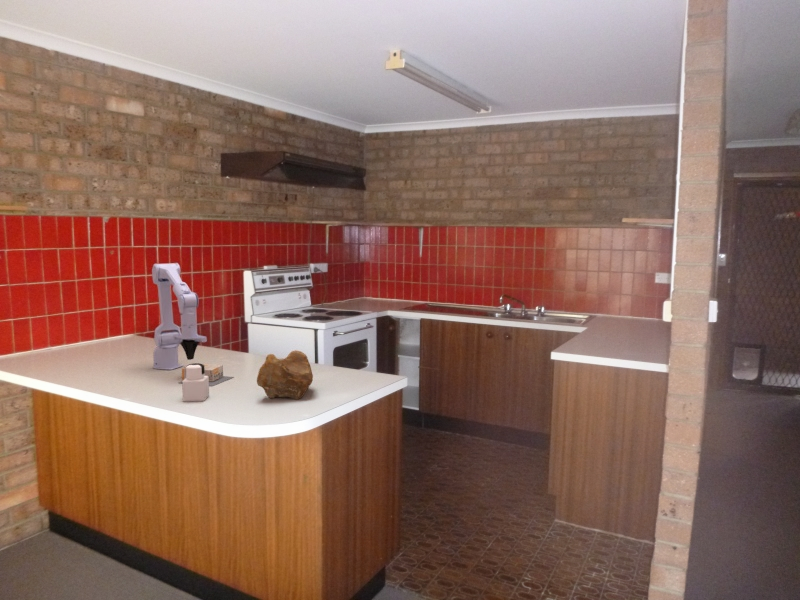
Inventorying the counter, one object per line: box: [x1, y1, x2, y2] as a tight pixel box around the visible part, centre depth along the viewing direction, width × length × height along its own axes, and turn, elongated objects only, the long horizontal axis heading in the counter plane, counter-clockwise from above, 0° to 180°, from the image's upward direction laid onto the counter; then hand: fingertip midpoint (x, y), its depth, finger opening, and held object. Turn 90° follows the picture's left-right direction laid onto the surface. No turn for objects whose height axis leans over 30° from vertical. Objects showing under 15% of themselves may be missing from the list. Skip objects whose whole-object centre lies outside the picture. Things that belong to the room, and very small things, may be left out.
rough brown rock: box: [256, 349, 314, 400], centre depth 204 cm, size 23×17×15 cm
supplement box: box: [181, 363, 224, 381], centre depth 227 cm, size 8×5×13 cm
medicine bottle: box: [181, 362, 210, 402], centre depth 200 cm, size 7×7×12 cm
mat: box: [178, 375, 235, 387], centre depth 225 cm, size 15×14×1 cm
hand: (190, 359), depth 227 cm, fingers closed
